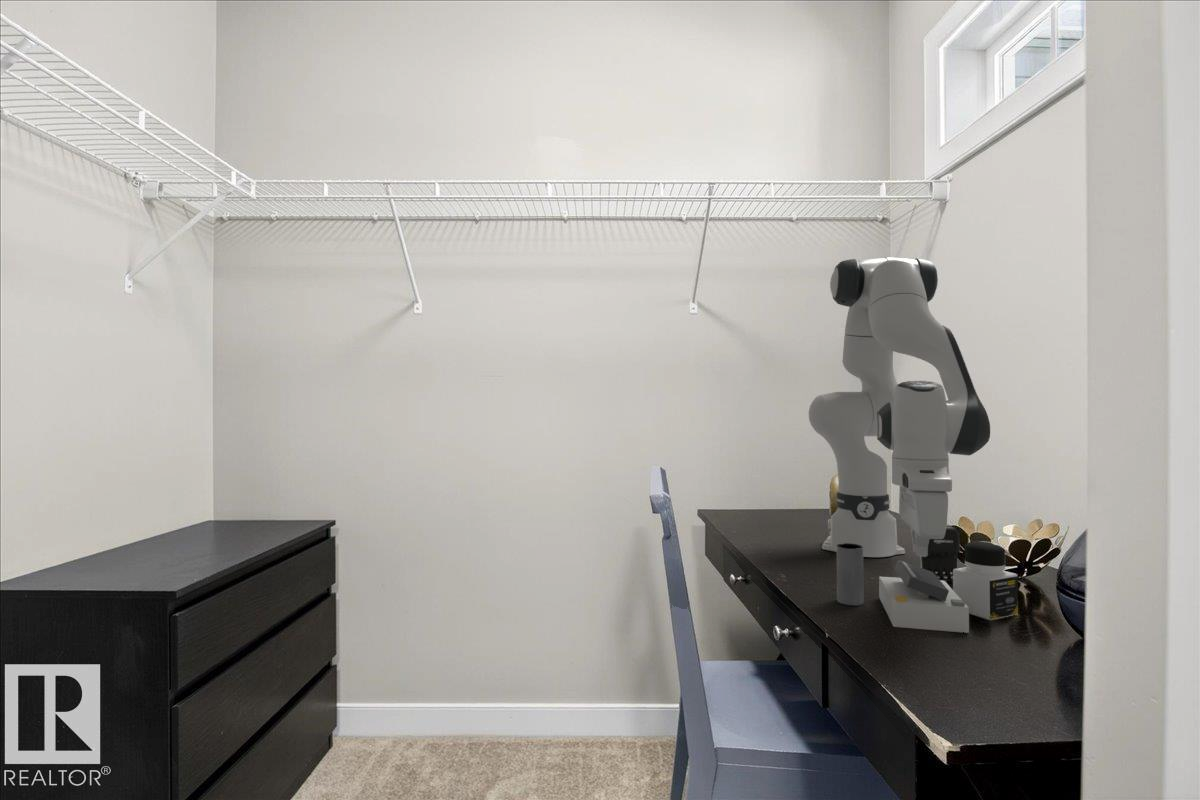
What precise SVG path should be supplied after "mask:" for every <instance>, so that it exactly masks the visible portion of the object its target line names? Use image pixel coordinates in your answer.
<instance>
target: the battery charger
mask: <svg viewBox="0 0 1200 800" xmlns="http://www.w3.org/2000/svg"><path fill="white" fill-rule="evenodd" d="M952 526H953V525H950V524H947V527H946V533H945V536H944V538H943V539H930V540H929V544H928V555H927V556H926V557H919V558H920V568H923V569H926V570H928V571H931V572H933V573H934V574H935V575H936V577H937V578H938V579H939V580H943V581H945V582H946V583H953V570H954V569H957V568H958V553H960V551H961V548H960V547H961V546H960V544H961V543H960V533H959V531H958V530H957V528H955V526H953V527H952Z"/></svg>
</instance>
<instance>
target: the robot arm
mask: <svg viewBox="0 0 1200 800" xmlns="http://www.w3.org/2000/svg"><path fill="white" fill-rule="evenodd" d="M938 282H939V278H938V270H937V267H936V266H935V265H934V263H933V262H932V261H930V260H927V259H923V258H914V259H913V258H905V257H904V258H903V257H895V256H894V257H888V256H885V257H880V258H879V257H876V258H875V257H874V258H864V259H863V258H862V259H856V258H850V259H845V260H842V261H840V262H838V264H837V265H836V266H835V267H834V269H833V272H832V274H831V277H830V282H829V287H830V293H831V295H832V299H833V300H834V302H835V303H836V304H837V305H840V306H843V307H848V312H847V316H846V322H845V326H844V327H845V328H844V339H843V352H842V366H843V367H844V369H845V371H847V372H848V373H849V374H850V375H853V377H856V378H857V379H860V383H861V391H834V392H829V393H824V394H820V395H819V394H818V395H817V396H816V397H815V398H814V399H813V400H812V401H811V404H810V406H809V409H808V420H809V423H810V425H811V427H812V429H813V430H814V432H816V433H817V434H818V435H820V436H821V437H822V438H823V439H824V440H825V441H826V442H827V444H828V445H829V446H830V448H831V449H832V452H833V455H834V456H835V461H836V466H837V467H836V468H837V481H838V484H837V485H838V486H837V487H838V491H837V492H836V497H835V500H836V501H835V502H836V507H837V509H836V510H835V512H833V513H832V515H831V516H830V518H828V520H827V529H828V530H829V531H828V537H826V539H825V540H824V542H823V544H822V545H821V548H822V550H824V551H825V550H826V551H830V552H835V553H837V545H838V544H841V543H850V544H857V545H861V546H863V558H886V557H891V556H896V555H904V554H906V551H905V548H904V547H902V546H901V545H898V535H897V534H898V531H897V530H898V529H897V519H896V517H894V516H893V515H892V514H891V513H890V511H889V510H890V502H891V501H890V495H889V493H888V466H887V463H886V462H885V460H884V459H883V458H882V457H881V456H880V455H878V454H877V453H875V452H873V451H871V450H870V449H869V448H868V447H867V444H866V440H865V437H876V439H877V441H879V443H880V444H881V445H883V446H884V447H885V448H887V449H888V450H891V451H892V453H891V483H892V485H896V486H899V497H898V503H899V504H898V513H899V514H898V515H899V518H900V519H901V520H902V521H903V522H904V523H905V524H906V525H907V526H908V527H909V528H910V535H911V539H912V551H913V553H914V554H915V556H917V557H919V558H920V557H926V556H927V555H928V544H929V540H930V539H943V538H944V536H945V533H946V527H947V525H948V524H947V523H948V512H949V511H948V509H949V495H948V493H949V492H950V493H951V492H952V490H953V480H952V477H951V475H950V469H949V464H950V461H949V459H950V458H949V454H951V455H958V456H960V455H961V456H969V457H970V456H972V455H974V454H975V453H977V452H978V451H980V450H981V449H983V447H985V446H986V445H987V444H988V443H989V440H990V438H991V423H990V419H989V415H988V412H987V410H986V409H985V407H984V405H983V403H982V402H981V400H980V397H979V395H978V393H977V392H976V388H975V385H974V383H973V380H972V378H971V375H970V373H969V370H968V368H967V365H966V364H967V363H966V362H965V359H964V357H963V353H962V352H961V349H960V346H959V344H958V342H957V340H956V337H955V335H954V333H953V331H952V330H951V329H950V328H949V327H947V326H944V325H943V324H941V323H940V322H939V321H938V320H937V318H935V317H934V315H933V314H932V313H931V311H930V309H929V302H931V300H933V298H934V296H935V294H936V291H937V289H938V284H939V283H938ZM894 352H895V353H896V354H897V353H899V354H901V355H906V356H910V357H913V358H916V359H919V360H922V361H924V362H926V363H929V364H930V365H932V366H933V367H934V368H935V369H936V371H937V372H938V373H939V377H940V380H941V382H942V384H940V383H938V382H935V381H928V380H927V381H926V380H910V381H909V380H908V381H903V382H900V383H898V381H897V379H896V377H895V374H894V373H895V372H894ZM946 397H947V398H946ZM947 399H948V400H947Z"/></svg>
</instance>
